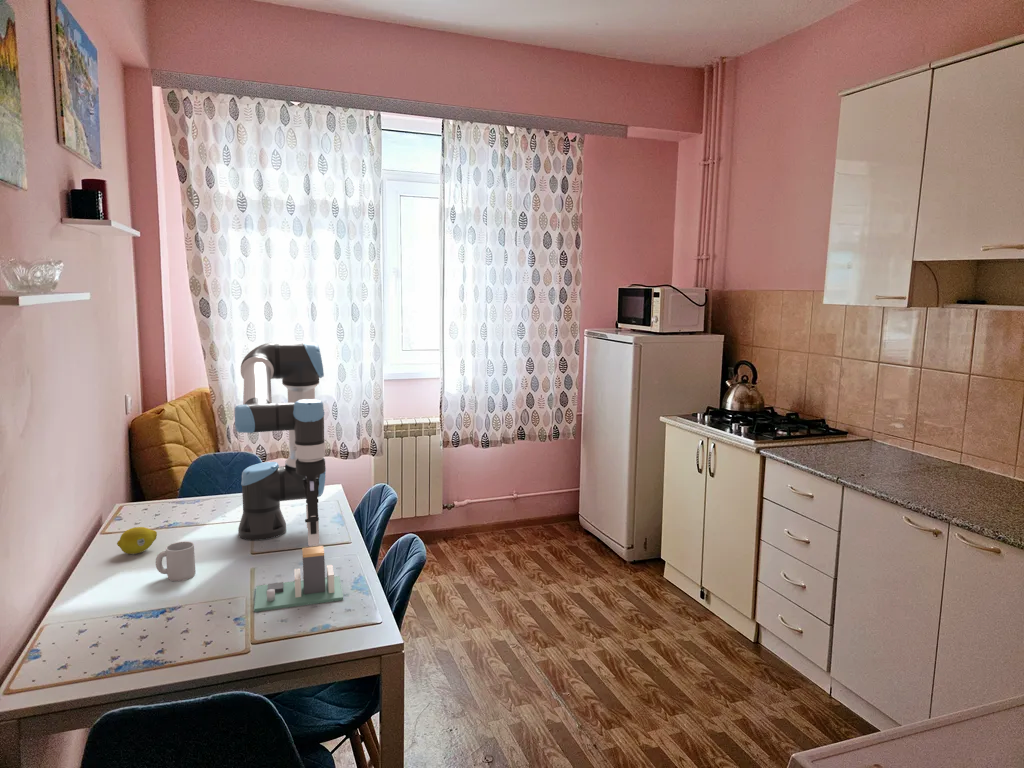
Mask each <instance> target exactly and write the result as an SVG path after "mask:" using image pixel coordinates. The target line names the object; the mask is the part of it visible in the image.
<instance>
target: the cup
mask: <svg viewBox="0 0 1024 768" xmlns="http://www.w3.org/2000/svg"><path fill="white" fill-rule="evenodd" d="M194 543H195V542H191V541H178V542H174V543H171V544H168V545H167V546H166V547H165V550H164V551H161V552H159V553H158V554H157V555H156V558H155V566H156V569H157V571H158V573H160V574H162V575H167V578H168V580H169V581H172V582H183V581H186V580H189V579H191V578H193V577H194V576H195V575H196V556H195V544H194ZM164 557H166V559H165V560H166V561H165V562H166V568H165V567H164V565H163V558H164Z"/></svg>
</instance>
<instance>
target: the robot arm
mask: <svg viewBox="0 0 1024 768" xmlns="http://www.w3.org/2000/svg"><path fill="white" fill-rule="evenodd" d="M242 359H243V360H242V361H241V364H240V375H241V377H242V379H243V401H242V404H238V405H236V406H235V407H234V428H235V431H236V432H237V433H241V434H243V433H245V434H246V433H247V434H248V433H249V434H253V433H265V432H266V433H268V432H281V431H282V432H284V431H288V438H289V439H288V442H289V444H288V445H289V456H288V458H286V459H285V462H284V464H285V465H283V466H280V465H279V463H278V462H276V461H266V462H265V461H264V462H259V463H256V464H252V465H250V466H248V467H246V468H245V469H243V471H242V472H241V483H240V485H241V491H242V492H241V493H242V495H241V496H242V515H241V518H240V521H239V525H238V528H237V531H238V537H239V538H240V539H242V540H247V541H263V540H270V539H274V538H276V537H280V536H282V535H284V534H285V533H286V532H287V523H286V520H285V517H284V515H283V512H282V510H281V502H285V501H287V502H288V501H295V500H298V501H299V500H305V503H306V505H305V507H306V509H305V510H306V511H305V512H306V518H305V519H304V522H305V523H306V529H307V542H308V543H307V545H308V546H309V547H314V546H320V528H319V527H320V525H319V524H320V523H319V520H320V519H319V518H320V517H319V510H318V509H319V505H318V503H319V497H321V496H323V493H324V490H325V486H326V471H327V468H326V458H325V456H326V441H325V409H324V402H323V401H322V400H320V399H316V390H315V389H316V387H317V386H318V385H319V384H320V379H322V378H324V377H325V373H324V365H323V360H322V353H321V349H320V347H319V344H318V343H316V342H307V341H294V342H293V341H290V342H289V341H288V342H266V343H263V344H261V345H258V346H256V347H255V348H253V349H252V350H250V351H249V352H248V353H247V354H245V356H244V357H243V358H242ZM274 379H275V380H279V379H280V380H281V382H282V383H281V384H282V386H284V387H285V388H286V389H287V402H278V403H273V402H272V401H273V399H272V382H271V381H272V380H274Z"/></svg>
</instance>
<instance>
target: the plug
mask: <svg viewBox="0 0 1024 768" xmlns="http://www.w3.org/2000/svg"><path fill="white" fill-rule="evenodd" d="M301 549H302V554H301V555H302V577H303V578H302V579H303V583H304V594H311V593H319V592H325V577H326V571H325V569H326V568H325V567H326V566H325V565H326V563H325V549H324V545H315V546H309V547H302V548H301Z"/></svg>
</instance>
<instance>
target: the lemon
mask: <svg viewBox="0 0 1024 768" xmlns="http://www.w3.org/2000/svg"><path fill="white" fill-rule="evenodd" d="M157 535H158V532H157V531H156V530H155V529H151V528H148V527H144V526H136V527H131V528H129V529H125V531H123V533H122V534H121V535H120V539H119V540H117V543H116V545H117V546H118V547H119V548H120V550H121V551H122V552H123V553H125V554H128V555H136V554H140V553H144V552H145V551H146V550H148V549H149V548H150V547H151V546H152V545H153V543H154V542H155V541H156V540H157Z"/></svg>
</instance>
